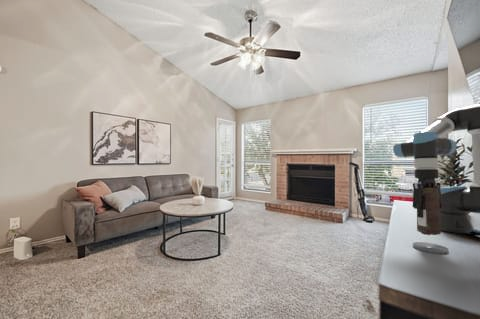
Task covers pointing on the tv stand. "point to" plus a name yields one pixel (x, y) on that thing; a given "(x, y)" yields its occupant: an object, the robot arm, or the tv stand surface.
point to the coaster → (430, 248)
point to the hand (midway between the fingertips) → (428, 224)
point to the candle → (431, 212)
